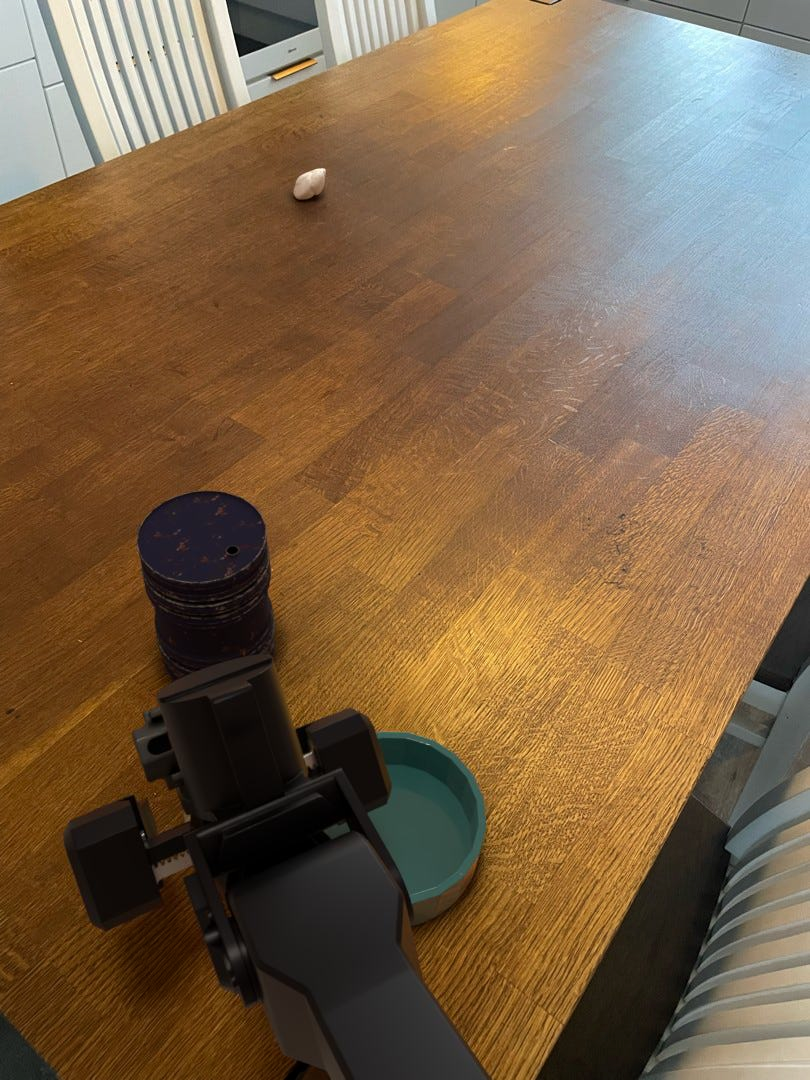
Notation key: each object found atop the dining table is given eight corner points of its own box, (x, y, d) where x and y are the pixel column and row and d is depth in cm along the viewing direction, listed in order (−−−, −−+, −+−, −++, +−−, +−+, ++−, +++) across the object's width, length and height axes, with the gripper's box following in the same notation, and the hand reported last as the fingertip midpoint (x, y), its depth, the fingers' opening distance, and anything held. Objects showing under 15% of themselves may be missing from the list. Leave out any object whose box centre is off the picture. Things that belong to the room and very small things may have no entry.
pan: (484, 929, 63) (493, 904, 60) (298, 928, 62) (296, 903, 59) (471, 762, 72) (478, 733, 69) (308, 759, 72) (308, 729, 68)
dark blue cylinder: (137, 663, 77) (106, 546, 66) (211, 591, 83) (193, 472, 72) (229, 718, 74) (212, 605, 63) (298, 638, 80) (294, 522, 69)
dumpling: (324, 207, 136) (318, 184, 132) (292, 208, 137) (285, 186, 134) (333, 179, 139) (327, 156, 136) (302, 181, 141) (295, 158, 137)
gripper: (380, 644, 49) (304, 621, 63) (28, 778, 42) (33, 718, 57) (436, 830, 50) (349, 766, 65) (102, 989, 43) (88, 878, 58)
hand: (212, 778), depth 61 cm, fingers open, 9 cm apart
